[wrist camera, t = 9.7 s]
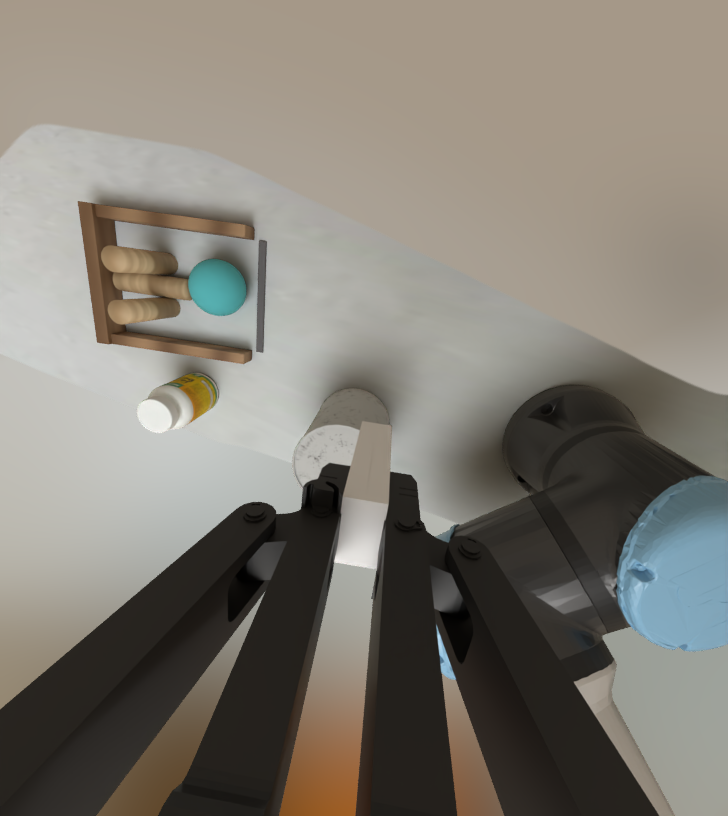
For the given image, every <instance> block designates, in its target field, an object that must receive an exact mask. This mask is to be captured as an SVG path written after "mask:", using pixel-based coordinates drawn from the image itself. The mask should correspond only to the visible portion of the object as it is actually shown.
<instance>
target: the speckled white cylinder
mask: <svg viewBox="0 0 728 816" xmlns="http://www.w3.org/2000/svg"><path fill="white" fill-rule="evenodd" d="M362 421H366V422H372V423H378V424H384V425H389V424H390V423H389V415H388V412H387V410H386V408H385V406H384V405H383V403H382V402H381V401H380V400H379V399H378V398H377V397H376V396H375V395H373V394H372V393H370V392H368V391H365V390H362V389H356V388H348V389H343V390H340V391H337V392H335V393H333V394H332V395H330V396H329V397H328V398H327V399H326V400H325V401H324V403H323V405H322V406H321V408H320V411H319V412H318V414H317V416H316V417H315V419H314V421H313V422H312V424H311V425H310V427H309V429H308V430H307V432H306V433H305V435H304V437H303V438H302V439H301V440H300V441H299V443H298V445H297V446H296V448H295V451H294V454H293V460H292V468H293V472H294V477H295V479H296V481H297V483H298V485H299V486H300V488H301V489H302V490H303V486H304V485H305V484H306V483H307V482H309V481H311V480H314V479H318V477H319V474H320V472H321V470H322V468H323V467H324V466H325V465H327V464H328V463H335V464H341V465H347V466H351V463H352V459H353V455H354V451H355V447H356V443H357V440H358V436H359V432H360V428H361V424H362Z"/></svg>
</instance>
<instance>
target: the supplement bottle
mask: <svg viewBox="0 0 728 816" xmlns="http://www.w3.org/2000/svg"><path fill="white" fill-rule="evenodd" d="M217 400H218V389H217V386H216V384H215V383H214V382H213V380H212V379H210V378H209V377H208V376H206V375H204V374H201V373H191V374H188V375H185V376H183V377H181V378H178V379H176V380H173V381H171V382H169V383H167V384H164V385H162V386H159V387H157V388H156V389H154V390H153V391H152V392H151V393H150V395H149V396H148V398H147V399H145V400H143V401H142V402H141V403H140V404H139V405H138V408H137V416H138V419H139V421H140V423H141V424H142V425H143V426H144V427H145V428H146V429H148V430H149V431H151V432H155V433H163V432H166V431H167V430H169V429H179V428H182V427H184V426H186V425H188V424H189V423H190V422H192V421H193V420H195V419H196V418H198V417H199V416H201V415H202V414H204V413H205V412H207V411H208V410H210V409H211V408H213V407H214V406H215V404H216V402H217Z"/></svg>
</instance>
